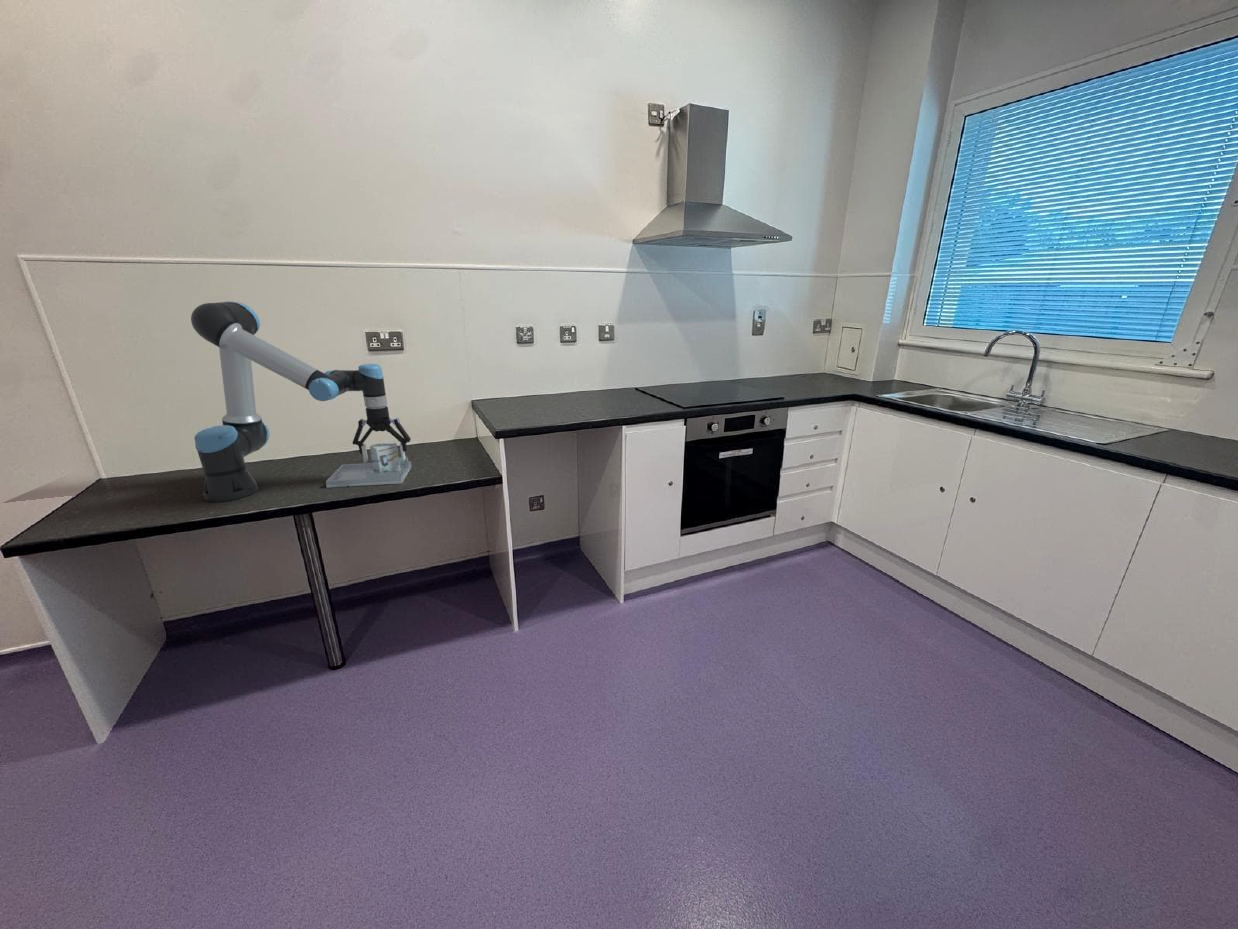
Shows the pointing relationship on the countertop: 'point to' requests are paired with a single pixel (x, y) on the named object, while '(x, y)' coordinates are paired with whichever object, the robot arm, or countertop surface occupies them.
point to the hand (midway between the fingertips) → (385, 460)
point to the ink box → (385, 456)
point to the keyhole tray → (361, 475)
